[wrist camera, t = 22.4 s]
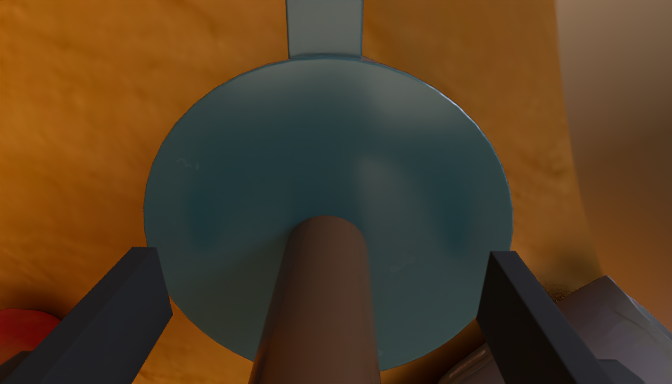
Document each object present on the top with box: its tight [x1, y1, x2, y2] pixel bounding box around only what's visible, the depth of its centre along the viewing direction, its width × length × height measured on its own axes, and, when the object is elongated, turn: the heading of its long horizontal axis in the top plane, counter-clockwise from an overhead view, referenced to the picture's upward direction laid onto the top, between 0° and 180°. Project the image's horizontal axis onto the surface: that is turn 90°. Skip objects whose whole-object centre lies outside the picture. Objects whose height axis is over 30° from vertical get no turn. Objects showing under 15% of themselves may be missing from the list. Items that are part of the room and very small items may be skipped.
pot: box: [285, 0, 378, 63], centre depth 19 cm, size 12×18×10 cm
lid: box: [143, 56, 513, 384], centre depth 10 cm, size 13×13×9 cm
